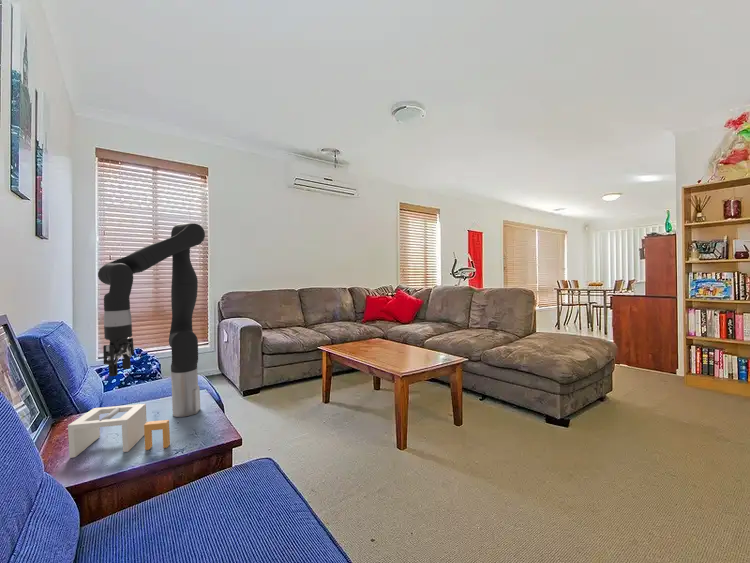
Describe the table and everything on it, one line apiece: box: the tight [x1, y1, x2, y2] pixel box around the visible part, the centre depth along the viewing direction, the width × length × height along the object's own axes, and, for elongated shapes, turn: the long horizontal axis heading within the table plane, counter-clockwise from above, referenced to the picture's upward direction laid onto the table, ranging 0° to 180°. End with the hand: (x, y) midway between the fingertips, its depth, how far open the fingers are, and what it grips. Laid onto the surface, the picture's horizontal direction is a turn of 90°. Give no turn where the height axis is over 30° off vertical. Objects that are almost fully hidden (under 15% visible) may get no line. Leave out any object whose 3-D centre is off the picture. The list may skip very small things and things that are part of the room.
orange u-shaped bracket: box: [143, 419, 171, 451], centre depth 116 cm, size 6×2×8 cm, turn 101°
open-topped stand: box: [67, 403, 148, 459], centre depth 118 cm, size 16×14×10 cm
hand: (120, 372), depth 121 cm, fingers open, 8 cm apart
